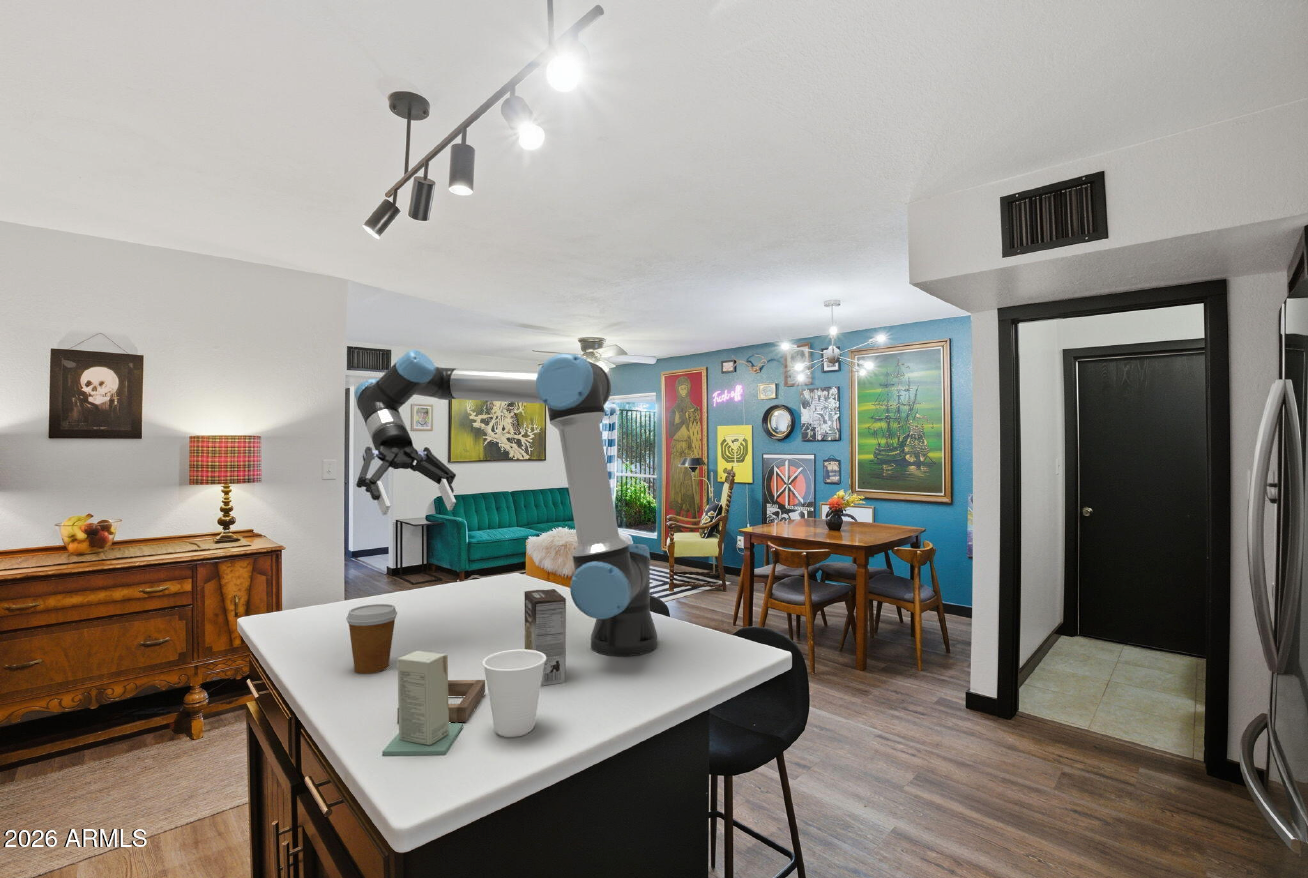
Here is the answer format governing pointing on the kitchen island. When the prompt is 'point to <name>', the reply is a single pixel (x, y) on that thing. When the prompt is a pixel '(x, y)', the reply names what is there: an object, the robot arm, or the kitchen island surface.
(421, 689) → the skincare box
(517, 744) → the kitchen island surface
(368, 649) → the disposable coffee cup
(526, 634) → the coffee box
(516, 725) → the cup
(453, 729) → the rubber mat
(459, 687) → the wooden square frame
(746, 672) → the kitchen island surface
